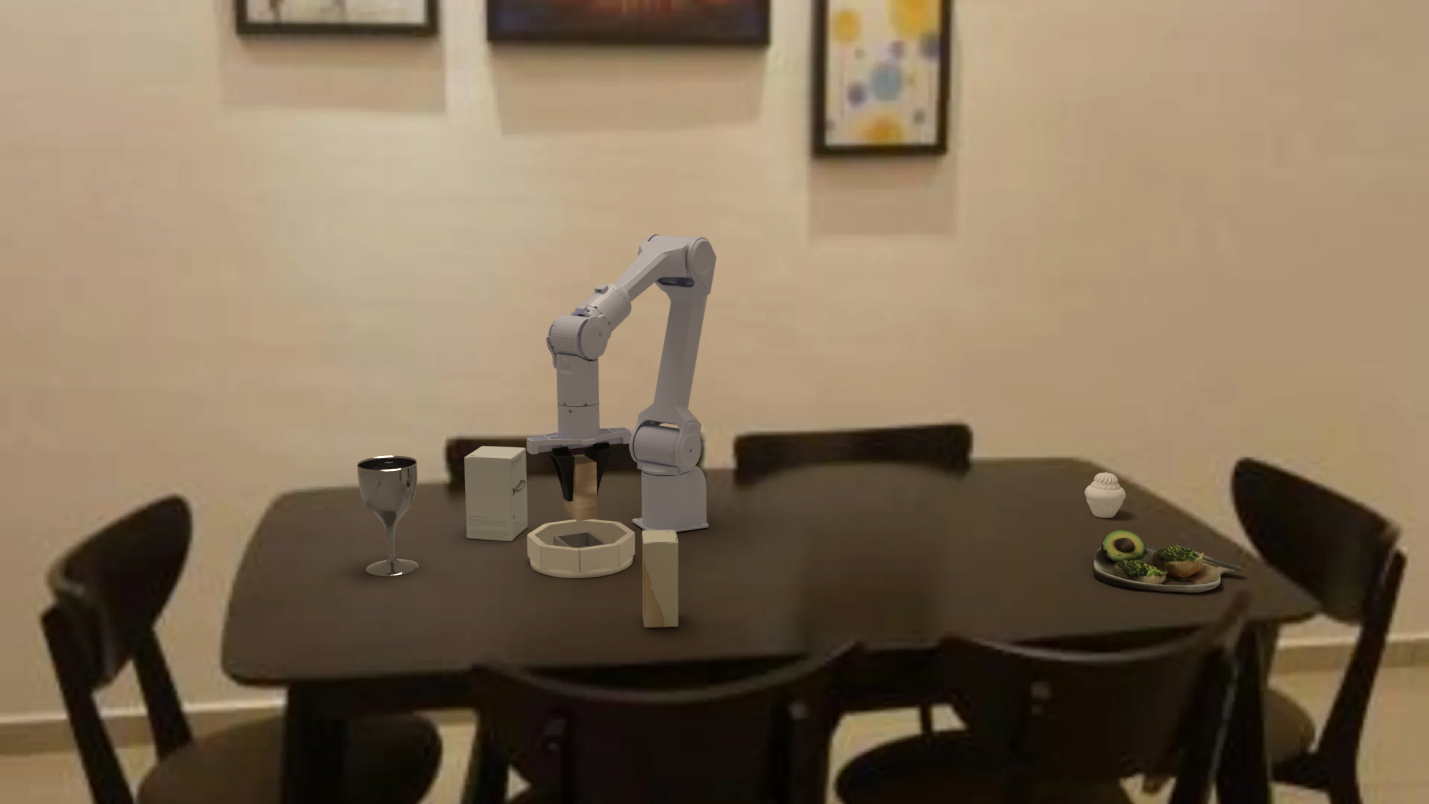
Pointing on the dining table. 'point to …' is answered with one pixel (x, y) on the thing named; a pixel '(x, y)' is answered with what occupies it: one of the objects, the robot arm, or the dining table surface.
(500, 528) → the supplement box
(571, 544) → the octagonal cream tray
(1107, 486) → the muffin
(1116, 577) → the salad plate
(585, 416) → the robot arm
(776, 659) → the dining table surface
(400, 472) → the wine glass
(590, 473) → the tan wooden block
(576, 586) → the dining table surface
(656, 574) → the box
